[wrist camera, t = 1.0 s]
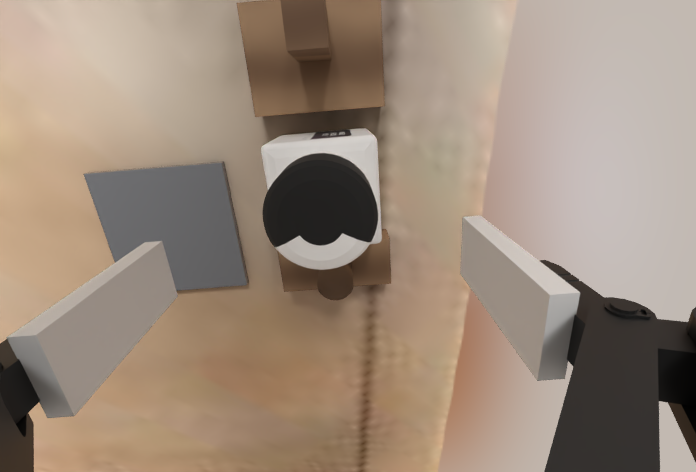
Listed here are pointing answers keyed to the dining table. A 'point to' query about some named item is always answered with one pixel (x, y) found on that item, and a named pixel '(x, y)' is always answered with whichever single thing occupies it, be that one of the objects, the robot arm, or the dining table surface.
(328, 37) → the pair of wooden stands
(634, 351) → the robot arm
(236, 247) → the plate
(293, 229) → the container
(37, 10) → the dining table surface
